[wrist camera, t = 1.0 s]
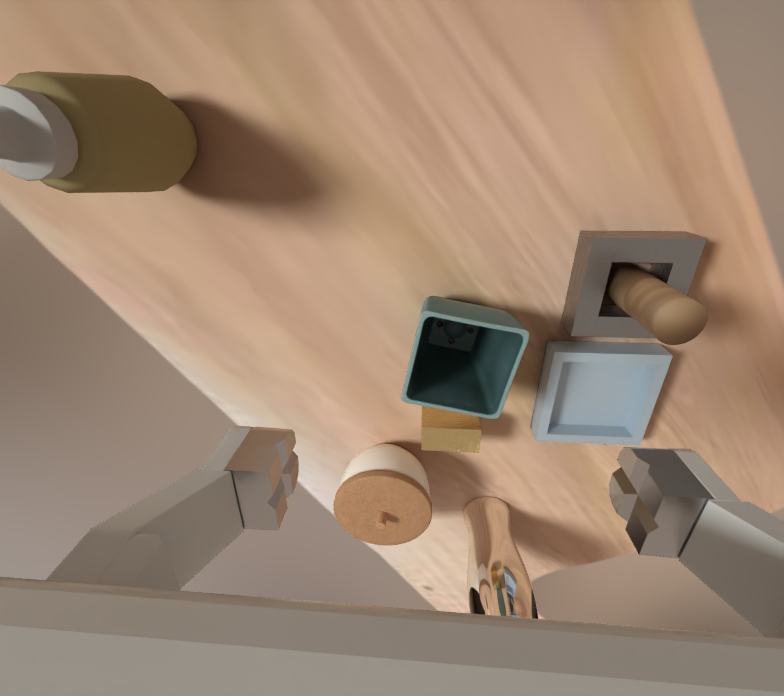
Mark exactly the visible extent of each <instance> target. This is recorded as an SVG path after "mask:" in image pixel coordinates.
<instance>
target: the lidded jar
mask: <svg viewBox="0 0 784 696" xmlns="http://www.w3.org/2000/svg"><path fill="white" fill-rule="evenodd" d="M334 514H335V516H336V519H337V521H338V522H339V523H340V525H341V526H342V527H343V528H344V530H345V531H347V532H348V533H349V534H351V535H352V536H354V537H355V538H357V539H360V540H362V541H365V542H367V543H372V544H377V545H398V544H402V543H406V542H409V541H411V540H413V539H415V538H417V537H418V536H420V535H421V534H422V533H423V532H424V531H425V530H426V529H427V527H428V526H429V524H430V522H431V518H432V504H431V497H430V487H429V482H428V478H427V475H426V472H425V470H424V468H423V467H422V465H421V463H420V462H419V461H418V459H417V458H416V457H415V456H414V455H413V454H411V453H410V452H408V451H407V450H405V449H403V448H402V447H400V446H397V445H394V444H388V443H387V444H379V445H375V446H372V447H369V448H367V449H365V450H363V451H362V452H360V453H359V454H358V455H356V456H355V457H354V458H353V459H352V461H351V462H350V463H349V465H348V466H347V468H346V470H345V472H344V474H343V476H342V479H341V481H340V485H339V489H338V491H337V493H336V496H335V500H334Z"/></svg>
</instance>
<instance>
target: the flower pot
mask: <svg viewBox="0 0 784 696" xmlns="http://www.w3.org/2000/svg"><path fill="white" fill-rule="evenodd" d="M438 322H442V325H441V326H438V324H437V323H438ZM469 328H473V331H472V332H469V331H468V329H469ZM529 337H530V333H529V332H528V331H527V330H526V329H525V328H524V327H523V326H522V325H521V324H520V323H519V322H518V321H517V320H516V319H515V318H514V317H513V316H512V315H511V314H509V313H508V312H506V311H503V310H501V309H497V308H492V307H487V306H481V305H476V304H471V303H466V302H461V301H456V300H451V299H446V298H442V297H437V296H430V297H428V298H426V300H425V301H424V304H423V307H422V310H421V314H420V317H419V321H418V326H417V331H416V335H415V340H414V344H413V349H412V353H411V357H410V362H409V366H408V370H407V374H406V379H405V382H404V386H403V390H402V395H401V399H402V401H404V402H406V403H410V404H415V405H420V406H427V407H432V408H437V409H443V410H448V411H454V412H458V413H464V414H468V415H473V416H478V417H483V418H488V419H498V418H499V417H500V415H501V412H502V409H503V407H504V404H505V401H506V398H507V395H508V392H509V390H510V387H511V384H512V382H513V379H514V377H515V374H516V371H517V369H518V366H519V363H520V361H521V358H522V356H523V353H524V351H525V348H526V346H527V344H528V341H529ZM449 339H454V342H453V343H450V342H449Z"/></svg>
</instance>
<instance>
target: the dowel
mask: <svg viewBox="0 0 784 696" xmlns="http://www.w3.org/2000/svg"><path fill="white" fill-rule="evenodd" d="M604 294H605V295H606V296H607V297H608V298H609V299H611V300H612V301H613V302H614V303H615V304H617V305H618V306H619V307H620V308H621V309H622V310H624V311H625V312H626V313H627V314H628V315H630V316H631V317H632V318H633V319H634V320H636V321H637V322H638V323H639V324H640V325H642V326H643V327H644V328H645V329H646V330H647V331H649V332H650V333H651V334H652V335H653V336H655V337H656V338H657V339H658V340H659V341H661V342H662V343H665V344H668V345H678V344H683V343H686V342H688V341H690V340H692V339H693V338H695V337H696V336H697V335H698V334H699V333H700V332H701V331H702V330H703V328H704V327H705V325H706V322H707V311H706V309H705V307H704V306H703V305H702V304H701V303H699V302H697V301H695V300H694V299H692V298H690V297H689V296H687V295H685V294H683V293H682V292H680V291H678V290H677V289H675V288H673V287H671V286H670V285H668V284H666V283H664V282H663V281H661V280H659V279H658V278H656V277H654V276H652V275H651V274H649V273H647V272H646V271H644V270H642V269H640V268H639V267H637V266H635V265H634V264H632V263H629V262H618V263H615V264H613V265H611V268H610V272H609V276H608V280H607V284H606V288H605V292H604Z"/></svg>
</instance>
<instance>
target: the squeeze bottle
mask: <svg viewBox="0 0 784 696" xmlns="http://www.w3.org/2000/svg"><path fill="white" fill-rule="evenodd" d="M197 144H198V142H197V138H196V134H195V131H194V127H193V125H192V124H191V122H190V121H189V119H188V118H187V116H186V114H185V113H184V112H183V111H182V110H181V109H179V108H178V107H177V106H176V105H175V104H174V103H173V102H171V101H170V100H169V99H168V98H167V97H166V96H164V95H163V94H162V93H161V92H160V91H159V90H157V89H156V88H155V87H154V86H153V85H151V84H150V83H148V82H145V81H142V80H139V79H137V78H134V77H131V76H124V75H103V74H81V73H59V72H30V73H21V74H17V75H16V76H15V77H14V78H13V79H12V80H10V81H9V82H8V83H7V84H6V85H0V167H1V168H3V169H4V170H5V171H7V172H8V173H10V174H11V175H12V176H15V177H18V178H21V179H24V180H27V181H33V180H40V181H42V182H43V183H44V184H46V185H47V186H49V187H52V188H55V189H58V190H61V191H64V192H67V193H97V192H154V191H165V190H167V189H168V188H170V187H171V186H173V185H174V184H176V183H178V182H179V181H180V180H181V179H182V177H183V176H184V175H185V174H186V172H187V171H188V170H189V169H190V167H191V166H192V164H193V162H194V160H195V158H196V156H197Z"/></svg>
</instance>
